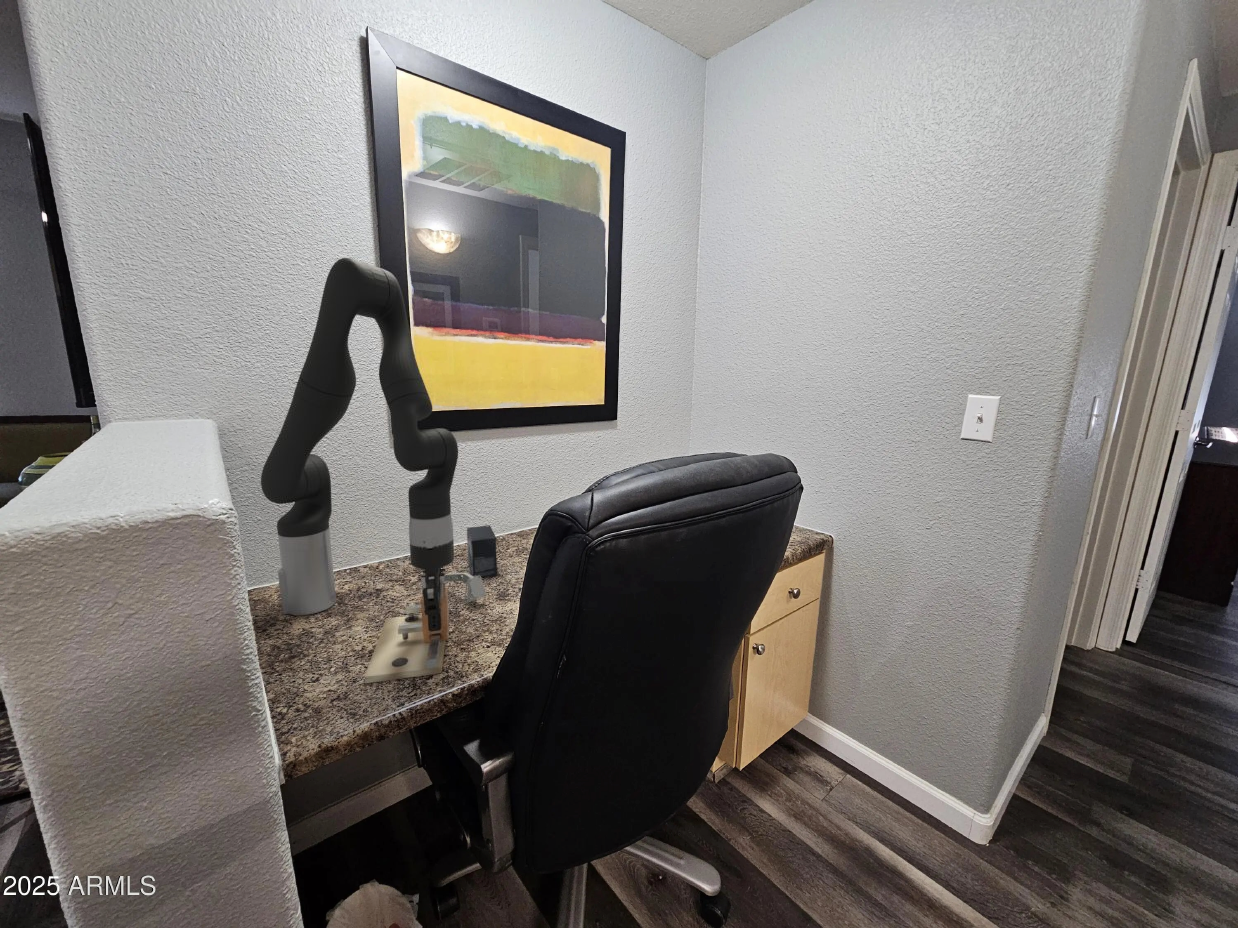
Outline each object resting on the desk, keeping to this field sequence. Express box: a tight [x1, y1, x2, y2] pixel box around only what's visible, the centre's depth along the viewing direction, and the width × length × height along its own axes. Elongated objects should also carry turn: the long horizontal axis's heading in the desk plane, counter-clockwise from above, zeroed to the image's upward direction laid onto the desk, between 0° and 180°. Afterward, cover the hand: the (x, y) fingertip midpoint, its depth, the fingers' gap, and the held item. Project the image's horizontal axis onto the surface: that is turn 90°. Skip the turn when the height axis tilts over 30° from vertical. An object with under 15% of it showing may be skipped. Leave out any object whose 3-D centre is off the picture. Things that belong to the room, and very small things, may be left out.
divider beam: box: [405, 604, 442, 669], centre depth 92 cm, size 8×20×3 cm, turn 16°
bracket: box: [419, 572, 487, 603], centre depth 114 cm, size 3×21×10 cm, turn 53°
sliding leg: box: [398, 587, 450, 643], centre depth 91 cm, size 9×4×9 cm, turn 106°
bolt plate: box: [363, 614, 447, 684], centre depth 92 cm, size 12×20×1 cm, turn 16°
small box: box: [466, 524, 499, 579], centre depth 126 cm, size 11×6×10 cm, turn 23°
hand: (436, 623), depth 92 cm, fingers closed on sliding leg, 4 cm apart
